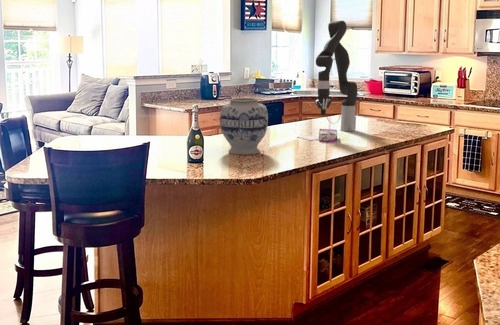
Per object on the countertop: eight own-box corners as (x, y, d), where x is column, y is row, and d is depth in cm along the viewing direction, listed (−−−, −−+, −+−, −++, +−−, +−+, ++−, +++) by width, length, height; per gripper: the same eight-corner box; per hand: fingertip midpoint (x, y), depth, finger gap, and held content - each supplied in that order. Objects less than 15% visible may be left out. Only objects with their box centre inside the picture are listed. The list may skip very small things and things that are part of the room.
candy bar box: (319, 136, 405) (318, 141, 390) (319, 128, 404) (319, 133, 388) (336, 137, 404) (336, 142, 388) (337, 129, 403) (337, 134, 387)
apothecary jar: (211, 154, 349) (211, 99, 342) (232, 146, 372) (232, 95, 366) (256, 158, 338) (256, 102, 332) (274, 149, 362) (275, 97, 356)
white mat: (316, 135, 413) (316, 134, 413) (330, 138, 401) (330, 137, 401) (297, 137, 404) (297, 136, 404) (310, 140, 393) (310, 139, 393)
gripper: (328, 86, 405) (327, 113, 408) (311, 87, 398) (311, 115, 402) (335, 87, 399) (335, 114, 402) (319, 88, 392) (318, 116, 395)
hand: (323, 114), depth 402 cm, fingers closed
